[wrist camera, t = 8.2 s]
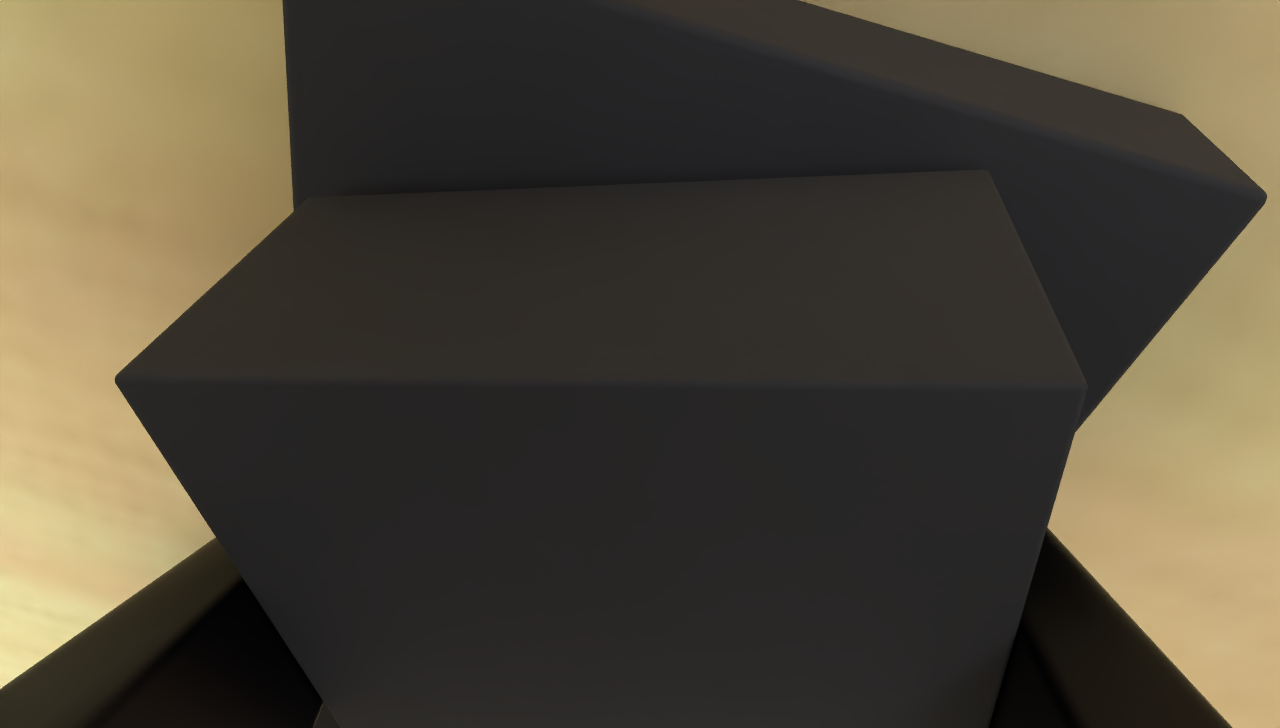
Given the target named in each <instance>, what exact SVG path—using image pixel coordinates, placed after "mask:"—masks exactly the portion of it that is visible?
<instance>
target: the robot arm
mask: <svg viewBox="0 0 1280 728" xmlns="http://www.w3.org/2000/svg"><path fill="white" fill-rule="evenodd" d="M323 703H324V702H323V700H322V699H321V697H320V696H319V694H318V692H317V691H316V689H315V688H314V686H313V685H312V683H311V682H310V680H309V679H308V677H307V676H306V674H305V673H304V671H303V669H302V668H301V666H300V665H299V663H298V662H297V660H296V659H295V657H294V656H293V654H292V653H291V651H290V650H289V648H288V647H287V645H286V643H285V642H284V640H283V639H282V637H281V636H280V634H279V633H278V631H277V630H276V628H275V627H274V625H273V624H272V622H271V620H270V619H269V617H268V616H267V614H266V613H265V611H264V610H263V608H262V607H261V605H260V604H259V602H258V601H257V599H256V597H255V596H254V594H253V593H252V591H251V590H250V588H249V587H248V585H247V584H246V582H245V581H244V579H243V578H242V576H241V575H240V573H239V571H238V570H237V568H236V567H235V565H234V564H233V562H232V561H231V559H230V558H229V556H228V555H227V553H226V552H225V550H224V548H223V547H222V545H221V544H220V542H219V541H218V539H217V538H214V539H213V540H211V541H210V542H209V543H207V544H206V545H204V546H203V547H202V548H200V549H199V550H197V551H196V552H194V553H193V554H192V555H190V556H189V557H187V558H186V559H184V560H183V561H182V562H180V563H179V564H177V565H176V566H175V567H173V568H172V569H170V570H169V571H167V572H166V573H165V574H163V575H162V576H160V577H159V578H157V579H156V580H155V581H153V582H152V583H150V584H149V585H147V586H146V587H145V588H143V589H142V590H140V591H139V592H138V593H136V594H135V595H133V596H132V597H130V598H129V599H128V600H126V601H125V602H123V603H122V604H120V605H119V606H118V607H116V608H115V609H113V610H112V611H110V612H109V613H108V614H106V615H105V616H103V617H102V618H100V619H99V620H98V621H96V622H95V623H93V624H92V625H91V626H89V627H88V628H86V629H85V630H83V631H82V632H81V633H79V634H78V635H76V636H75V637H73V638H72V639H71V640H69V641H68V642H66V643H65V644H63V645H62V646H61V647H59V648H58V649H56V650H55V651H54V652H52V653H51V654H49V655H48V656H46V657H45V658H44V659H42V660H41V661H39V662H38V663H36V664H35V665H34V666H32V667H31V668H29V669H28V670H26V671H25V672H24V673H22V674H21V675H19V676H18V677H16V678H15V679H14V680H12V681H11V682H9V683H8V684H7V685H5V686H4V687H2V688H1V689H0V728H314V725H315V723H316V720H317V718H318V715H319V713H320V710H321V708H322V706H323ZM989 728H1232V727H1231V726H1230V724H1229V723H1228V722H1227V721H1226V720H1225V719H1224V718H1223V717H1222V716H1221V715H1220V714H1219V713H1218V711H1217V710H1216V709H1215V708H1214V707H1213V706H1212V705H1211V704H1210V703H1209V702H1208V701H1207V700H1206V698H1205V697H1204V696H1203V695H1202V694H1201V693H1200V692H1199V691H1198V690H1197V689H1196V688H1195V687H1194V686H1193V684H1192V683H1191V682H1190V681H1189V680H1188V679H1187V678H1186V677H1185V676H1184V675H1183V674H1182V673H1181V671H1180V670H1179V669H1178V668H1177V667H1176V666H1175V665H1174V664H1173V663H1172V662H1171V661H1170V660H1169V658H1168V657H1167V656H1166V655H1165V654H1164V653H1163V652H1162V651H1161V650H1160V649H1159V648H1158V647H1157V646H1156V644H1155V643H1154V642H1153V641H1152V640H1151V639H1150V638H1149V637H1148V636H1147V635H1146V634H1145V633H1144V631H1143V630H1142V629H1141V628H1140V627H1139V626H1138V625H1137V624H1136V623H1135V622H1134V621H1133V620H1132V618H1131V617H1130V616H1129V615H1128V614H1127V613H1126V612H1125V611H1124V610H1123V609H1122V608H1121V607H1120V606H1119V604H1118V603H1117V602H1116V601H1115V600H1114V599H1113V598H1112V597H1111V596H1110V595H1109V594H1108V593H1107V591H1106V590H1105V589H1104V588H1103V587H1102V586H1101V585H1100V584H1099V583H1098V582H1097V581H1096V580H1095V578H1094V577H1093V576H1092V575H1091V574H1090V573H1089V572H1088V571H1087V570H1086V569H1085V568H1084V567H1083V566H1082V564H1081V563H1080V562H1079V561H1078V560H1077V559H1076V558H1075V557H1074V556H1073V555H1072V554H1071V553H1070V551H1069V550H1068V549H1067V548H1066V547H1065V546H1064V545H1063V544H1062V543H1061V542H1060V541H1059V540H1058V538H1057V537H1056V536H1055V535H1054V534H1053V533H1052V532H1051V531H1050V530H1049V529H1048V528H1047V529H1046V533H1045V536H1044V540H1043V543H1042V547H1041V550H1040V553H1039V557H1038V560H1037V564H1036V567H1035V571H1034V574H1033V577H1032V581H1031V584H1030V588H1029V591H1028V595H1027V598H1026V601H1025V605H1024V608H1023V612H1022V615H1021V619H1020V622H1019V625H1018V629H1017V632H1016V636H1015V639H1014V643H1013V646H1012V649H1011V653H1010V656H1009V660H1008V663H1007V667H1006V670H1005V673H1004V677H1003V680H1002V684H1001V687H1000V691H999V694H998V697H997V701H996V704H995V708H994V711H993V715H992V718H991V721H990V725H989Z"/></svg>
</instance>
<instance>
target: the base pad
mask: <svg viewBox="0 0 1280 728" xmlns="http://www.w3.org/2000/svg"><path fill="white" fill-rule="evenodd" d="M283 16H284V35H285V54H286V73H287V92H288V111H289V130H290V148H291V167H292V186H293V205H294V211H295V210H296V209H297V208H298V207H300V206H301V205H302V204H303V203H304V202H305V201H306V200H307V199H309V198H310V197H329V196H353V195H377V194H402V193H426V192H450V191H474V190H499V189H523V188H547V187H571V186H596V185H620V184H644V183H668V182H693V181H717V180H741V179H765V178H790V177H814V176H838V175H862V174H887V173H911V172H935V171H959V170H986V171H989V173H990V176H991V178H992V180H993V182H994V184H995V186H996V188H997V191H998V193H999V195H1000V197H1001V199H1002V201H1003V203H1004V206H1005V208H1006V210H1007V212H1008V214H1009V216H1010V219H1011V221H1012V223H1013V225H1014V227H1015V229H1016V231H1017V234H1018V236H1019V238H1020V240H1021V242H1022V244H1023V246H1024V249H1025V251H1026V253H1027V255H1028V257H1029V259H1030V261H1031V264H1032V266H1033V268H1034V270H1035V272H1036V274H1037V277H1038V279H1039V281H1040V283H1041V285H1042V287H1043V289H1044V292H1045V294H1046V296H1047V298H1048V300H1049V302H1050V304H1051V307H1052V309H1053V311H1054V313H1055V315H1056V317H1057V320H1058V322H1059V324H1060V326H1061V328H1062V330H1063V332H1064V335H1065V337H1066V339H1067V341H1068V343H1069V345H1070V347H1071V350H1072V352H1073V354H1074V356H1075V358H1076V360H1077V362H1078V365H1079V367H1080V369H1081V371H1082V373H1083V375H1084V378H1085V380H1086V382H1087V386H1088V388H1087V392H1086V396H1085V399H1084V402H1083V406H1082V409H1081V413H1080V416H1079V420H1078V423H1077V426H1076V430H1075V432H1076V431H1077V429H1078V428H1079V427H1080V426H1081V425H1082V423H1083V422H1084V421H1085V420H1086V419H1087V417H1088V416H1089V415H1090V414H1091V413H1092V411H1093V410H1094V409H1095V408H1096V407H1097V405H1098V404H1099V403H1100V402H1101V401H1102V399H1103V398H1104V397H1105V396H1106V395H1107V393H1108V392H1109V391H1110V390H1111V388H1112V387H1113V386H1114V385H1115V384H1116V382H1117V381H1118V380H1119V379H1120V378H1121V376H1122V375H1123V374H1124V373H1125V372H1126V370H1127V369H1128V368H1129V367H1130V366H1131V364H1132V363H1133V362H1134V361H1135V360H1136V358H1137V357H1138V356H1139V355H1140V353H1141V352H1142V351H1143V350H1144V349H1145V347H1146V346H1147V345H1148V344H1149V343H1150V341H1151V340H1152V339H1153V338H1154V337H1155V335H1156V334H1157V333H1158V332H1159V331H1160V329H1161V328H1162V327H1163V326H1164V325H1165V323H1166V322H1167V321H1168V320H1169V319H1170V317H1171V316H1172V315H1173V314H1174V312H1175V311H1176V310H1177V309H1178V308H1179V306H1180V305H1181V304H1182V303H1183V302H1184V300H1185V299H1186V298H1187V297H1188V296H1189V294H1190V293H1191V292H1192V291H1193V290H1194V288H1195V287H1196V286H1197V285H1198V284H1199V282H1200V281H1201V280H1202V279H1203V278H1204V276H1205V275H1206V274H1207V273H1208V271H1209V270H1210V269H1211V268H1212V267H1213V265H1214V264H1215V263H1216V262H1217V261H1218V259H1219V258H1220V257H1221V256H1222V255H1223V253H1224V252H1225V251H1226V250H1227V249H1228V247H1229V246H1230V245H1231V244H1232V243H1233V241H1234V240H1235V239H1236V238H1237V236H1238V235H1239V234H1240V233H1241V232H1242V230H1243V229H1244V228H1245V227H1246V226H1247V224H1248V223H1249V222H1250V221H1251V220H1252V218H1253V217H1254V216H1255V215H1256V214H1257V212H1258V211H1259V210H1260V209H1261V208H1262V206H1263V205H1264V204H1265V201H1266V199H1267V194H1266V193H1265V191H1264V190H1263V189H1262V188H1260V187H1259V186H1258V185H1257V184H1256V183H1255V182H1254V181H1253V180H1252V179H1251V178H1250V177H1249V176H1248V175H1246V174H1245V173H1244V172H1243V171H1242V170H1241V169H1240V168H1239V167H1238V166H1237V165H1236V164H1235V163H1234V162H1233V161H1231V160H1230V159H1229V158H1228V157H1227V156H1226V155H1225V154H1224V153H1223V152H1222V151H1221V150H1220V149H1219V148H1217V147H1216V146H1215V145H1214V144H1213V143H1212V142H1211V141H1210V140H1209V139H1208V138H1207V137H1206V136H1205V135H1203V134H1202V133H1201V132H1200V131H1199V130H1198V129H1197V128H1196V127H1195V126H1194V125H1193V124H1192V123H1191V122H1190V121H1188V120H1187V119H1186V118H1185V117H1184V116H1183V115H1181V114H1178V113H1174V112H1171V111H1168V110H1164V109H1161V108H1158V107H1154V106H1151V105H1148V104H1144V103H1141V102H1138V101H1134V100H1131V99H1127V98H1124V97H1121V96H1117V95H1114V94H1111V93H1107V92H1104V91H1101V90H1097V89H1094V88H1091V87H1087V86H1084V85H1080V84H1077V83H1074V82H1070V81H1067V80H1064V79H1060V78H1057V77H1054V76H1050V75H1047V74H1044V73H1040V72H1037V71H1033V70H1030V69H1027V68H1023V67H1020V66H1017V65H1013V64H1010V63H1007V62H1003V61H1000V60H997V59H993V58H990V57H986V56H983V55H980V54H976V53H973V52H970V51H966V50H963V49H960V48H956V47H953V46H950V45H946V44H943V43H939V42H936V41H933V40H929V39H926V38H923V37H919V36H916V35H913V34H909V33H906V32H903V31H899V30H896V29H892V28H889V27H886V26H882V25H879V24H876V23H872V22H869V21H866V20H862V19H859V18H856V17H852V16H849V15H845V14H842V13H839V12H835V11H832V10H829V9H825V8H822V7H819V6H815V5H812V4H809V3H805V2H802V1H798V0H283Z"/></svg>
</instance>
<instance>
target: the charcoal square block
mask: <svg viewBox="0 0 1280 728" xmlns="http://www.w3.org/2000/svg"><path fill="white" fill-rule="evenodd" d="M115 383H116V385H117V386H118V388H119V389H120V391H121V392H122V394H123V395H124V397H125V398H126V400H127V401H128V403H129V404H130V406H131V408H132V409H133V411H134V412H135V414H136V415H137V417H138V418H139V420H140V421H141V423H142V424H143V426H144V427H145V429H146V431H147V432H148V434H149V435H150V437H151V438H152V440H153V441H154V443H155V444H156V446H157V447H158V449H159V450H160V452H161V453H162V455H163V457H164V458H165V460H166V461H167V463H168V464H169V466H170V467H171V469H172V470H173V472H174V473H175V475H176V476H177V478H178V480H179V481H180V483H181V484H182V486H183V487H184V489H185V490H186V492H187V493H188V495H189V496H190V498H191V499H192V501H193V503H194V504H195V506H196V507H197V509H198V510H199V512H200V513H201V515H202V516H203V518H204V519H205V521H206V522H207V524H208V525H209V527H210V529H211V530H212V532H213V533H214V535H215V536H216V538H217V539H218V541H219V542H220V544H221V545H222V547H223V548H224V550H225V552H226V553H227V555H228V556H229V558H230V559H231V561H232V562H233V564H234V565H235V567H236V568H237V570H238V571H239V573H240V575H241V576H242V578H243V579H244V581H245V582H246V584H247V585H248V587H249V588H250V590H251V591H252V593H253V594H254V596H255V597H256V599H257V601H258V602H259V604H260V605H261V607H262V608H263V610H264V611H265V613H266V614H267V616H268V617H269V619H270V620H271V622H272V624H273V625H274V627H275V628H276V630H277V631H278V633H279V634H280V636H281V637H282V639H283V640H284V642H285V643H286V645H287V647H288V648H289V650H290V651H291V653H292V654H293V656H294V657H295V659H296V660H297V662H298V663H299V665H300V666H301V668H302V669H303V671H304V673H305V674H306V676H307V677H308V679H309V680H310V682H311V683H312V685H313V686H314V688H315V689H316V691H317V692H318V694H319V696H320V697H321V699H322V700H323V702H324V703H325V705H326V706H327V708H328V709H329V711H330V712H331V714H332V715H333V717H334V719H335V720H336V722H337V723H338V725H339V726H340V728H989V725H990V721H991V718H992V715H993V711H994V708H995V704H996V701H997V697H998V694H999V691H1000V687H1001V684H1002V680H1003V677H1004V673H1005V670H1006V667H1007V663H1008V660H1009V656H1010V653H1011V649H1012V646H1013V643H1014V639H1015V636H1016V632H1017V629H1018V625H1019V622H1020V619H1021V615H1022V612H1023V608H1024V605H1025V601H1026V598H1027V595H1028V591H1029V588H1030V584H1031V581H1032V577H1033V574H1034V571H1035V567H1036V564H1037V560H1038V557H1039V553H1040V550H1041V547H1042V543H1043V540H1044V536H1045V533H1046V529H1047V526H1048V523H1049V519H1050V516H1051V512H1052V509H1053V505H1054V502H1055V498H1056V495H1057V492H1058V488H1059V485H1060V481H1061V478H1062V474H1063V471H1064V468H1065V464H1066V461H1067V457H1068V454H1069V450H1070V447H1071V444H1072V440H1073V437H1074V433H1075V430H1076V426H1077V423H1078V420H1079V416H1080V413H1081V409H1082V406H1083V402H1084V399H1085V396H1086V392H1087V388H1088V386H1087V382H1086V380H1085V378H1084V375H1083V373H1082V371H1081V369H1080V367H1079V365H1078V362H1077V360H1076V358H1075V356H1074V354H1073V352H1072V350H1071V347H1070V345H1069V343H1068V341H1067V339H1066V337H1065V335H1064V332H1063V330H1062V328H1061V326H1060V324H1059V322H1058V320H1057V317H1056V315H1055V313H1054V311H1053V309H1052V307H1051V304H1050V302H1049V300H1048V298H1047V296H1046V294H1045V292H1044V289H1043V287H1042V285H1041V283H1040V281H1039V279H1038V277H1037V274H1036V272H1035V270H1034V268H1033V266H1032V264H1031V261H1030V259H1029V257H1028V255H1027V253H1026V251H1025V249H1024V246H1023V244H1022V242H1021V240H1020V238H1019V236H1018V234H1017V231H1016V229H1015V227H1014V225H1013V223H1012V221H1011V219H1010V216H1009V214H1008V212H1007V210H1006V208H1005V206H1004V203H1003V201H1002V199H1001V197H1000V195H999V193H998V191H997V188H996V186H995V184H994V182H993V180H992V178H991V176H990V173H989V171H986V170H959V171H935V172H911V173H887V174H862V175H838V176H814V177H790V178H765V179H741V180H717V181H693V182H668V183H644V184H620V185H596V186H571V187H547V188H523V189H499V190H474V191H450V192H426V193H402V194H377V195H353V196H329V197H310V198H309V199H307V200H306V201H305V202H304V203H303V204H302V205H301V206H300V207H298V208H297V209H296V210H295V211H294V212H293V213H292V214H291V215H290V216H289V217H288V218H287V219H285V220H284V221H283V222H282V223H281V224H280V225H279V226H278V227H277V228H276V229H275V230H273V231H272V232H271V233H270V234H269V235H268V236H267V237H266V238H265V239H264V240H263V241H262V242H260V243H259V244H258V245H257V246H256V247H255V248H254V249H253V250H252V251H251V252H250V253H248V254H247V255H246V256H245V257H244V258H243V259H242V260H241V261H240V262H239V263H238V264H237V265H235V266H234V267H233V268H232V269H231V270H230V271H229V272H228V273H227V274H226V275H225V276H223V277H222V278H221V279H220V280H219V281H218V282H217V283H216V284H215V285H214V286H213V287H212V288H210V289H209V290H208V291H207V292H206V293H205V294H204V295H203V296H202V297H201V298H200V299H198V300H197V301H196V302H195V303H194V304H193V305H192V306H191V307H190V308H189V309H188V310H187V311H185V312H184V313H183V314H182V315H181V316H180V317H179V318H178V319H177V320H176V321H175V322H173V323H172V324H171V325H170V326H169V327H168V328H167V329H166V330H165V331H164V332H163V333H162V334H160V335H159V336H158V337H157V338H156V339H155V340H154V341H153V342H152V343H151V344H150V345H149V346H147V347H146V348H145V349H144V350H143V351H142V352H141V353H140V354H139V355H138V356H137V357H135V358H134V359H133V360H132V361H131V362H130V363H129V364H128V365H127V366H126V367H125V368H124V369H122V370H121V371H120V372H119V373H118V374H117V375H116V377H115Z"/></svg>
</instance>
